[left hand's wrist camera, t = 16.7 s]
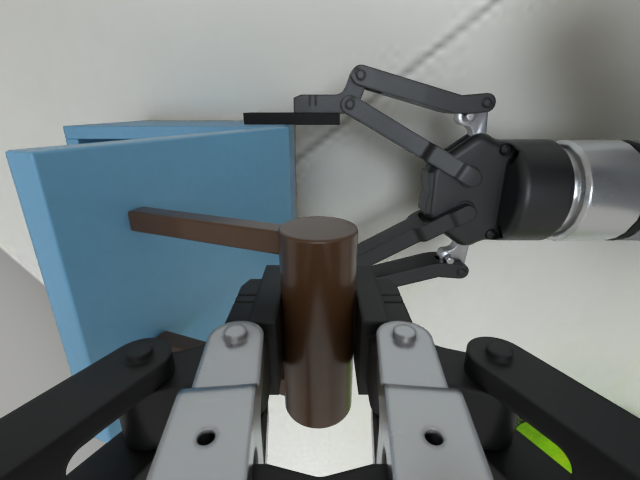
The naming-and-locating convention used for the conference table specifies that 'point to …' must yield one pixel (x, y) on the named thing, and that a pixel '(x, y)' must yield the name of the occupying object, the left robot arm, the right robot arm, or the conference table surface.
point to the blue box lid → (190, 253)
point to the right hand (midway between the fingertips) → (252, 190)
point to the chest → (171, 128)
